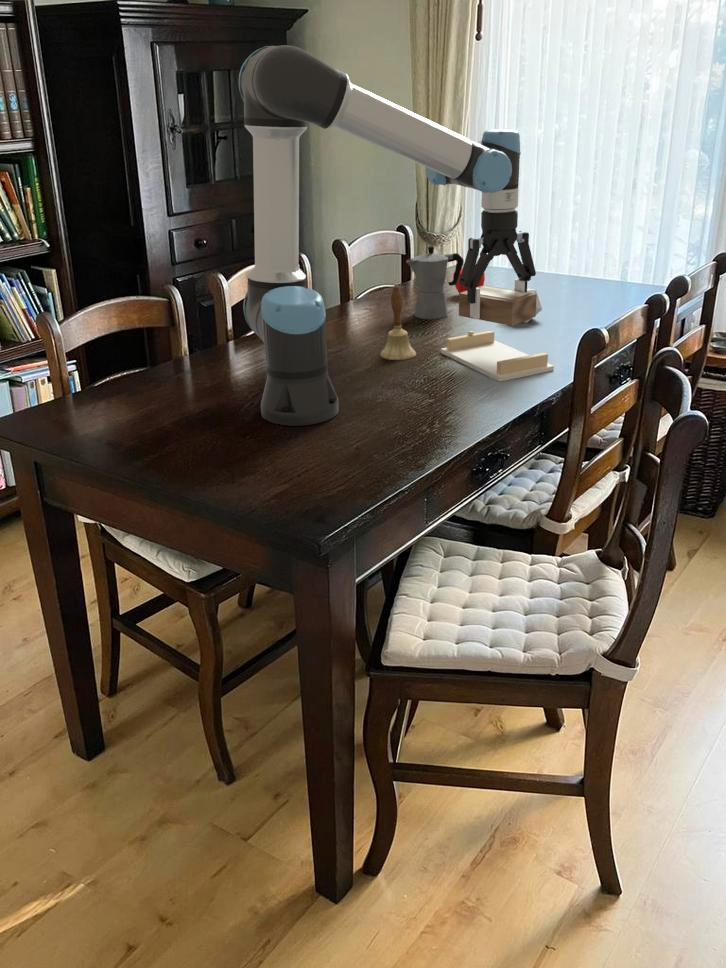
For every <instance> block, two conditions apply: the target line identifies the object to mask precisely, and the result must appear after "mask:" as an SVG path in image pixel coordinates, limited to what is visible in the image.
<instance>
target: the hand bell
mask: <svg viewBox="0 0 726 968" xmlns="http://www.w3.org/2000/svg"><path fill="white" fill-rule="evenodd" d="M390 304H391V309H392V312H393V329H392V330H390V331H388V334H387V340H386V341H387V342H386V344H385V347H384V349H383V350H381V351H380V354H379V355H380V357H381V358H382V359H385V360H391V361H405V360H410V359H413V358H415V357H416V356H417V351H415V350H414V348H413V347H412V346H411V343H410V340H409V334H408V331H406V330H405V329H403V328H402V317H401V312H402V310H403V296H402V292H401V289H400V286H399V285H393V288H392V292H391V296H390Z"/></svg>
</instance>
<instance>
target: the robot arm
mask: <svg viewBox="0 0 726 968" xmlns="http://www.w3.org/2000/svg"><path fill="white" fill-rule="evenodd" d="M238 88H239V89H238V90H239V94H240V97H241V99H242V102H243V117H244V118H243V119H244V120H243V121H244V123H243V125H244V128H246V130H247V131H248V132H249V133H250V134H251V136H252V153H253V155H252V157H253V158H252V159H253V163H252V164H253V165H252V166H253V168H252V169H253V214H254V215H253V216H254V217H253V221H254V223H253V224H254V226H253V227H254V229H253V230H254V267H253V268H252V269H251V270H249V272H248V273H247V274H246V275H247V284H246V285H247V292H246V293H245V295H244V299H243V305H242V306H243V314H244V318H245V321H246V323H247V325H248V326H249V329H250V330H251V331H252V332H253V333H255V334H256V335H257V336H258V338H259V339H260V340H261V342H263V343H264V350H265V351H264V352H265V365H266V376H267V377H266V381H265V385H264V390H263V394H262V397H261V401H260V414H261V417H262V418H263V420H265V419H266V420H267V421H266V420H265V421H266V422H268V421H269V423H271V422H272V423H271V424H274V423H275V425H278V424H280V426H286V425H287V427H289V426H290V427H298V426H299V427H300V426H309V425H310V426H311V425H316V424H320V423H324V422H326V421H327V422H328V421H329V420H331V419H333V418H334V417H336V416H337V415H338V413H339V410H340V409H339V407H340V405H339V397H338V395H337V393H336V390H335V387H334V385H333V382H332V381H331V380H332V379H331V378H330V377H331V376H330V375H329V371H328V370H329V369H328V356H327V355H328V354H327V353H328V352H327V351H328V350H327V331H326V313H327V312H326V308H325V304H324V299H323V297H322V296H321V294H320V293H319V292H317V291H316V290H314V289H312V288H307V275H306V274H305V273H304V271H303V270H302V269H301V268H300V266H299V259H300V257H299V253H300V251H299V250H300V249H299V247H300V244H299V243H300V235H299V233H300V232H299V231H300V223H299V220H300V215H299V214H300V212H299V211H300V200H299V199H300V137H301V136H302V135H303V134H304V133H305V132H306V130H307V129H308V123H309V124H312V125H315V126H317V127H319V128H322V129H324V130H329V129H331V128H333V127H334V128H336V129H339V130H342V131H344V132H345V133H349V134H350V135H352V136H355V137H357V138H359V139H361V140H364V141H366V142H369V143H371V144H373V145H375V146H378V147H380V148H382V149H384V150H386V151H389V152H390V153H394V154H396V155H398V156H400V157H402V158H404V159H407V160H408V161H412V162H414V163H416V164H418V165H420V166H423V167H424V168H425V175H426V178H427V180H428V181H429V182H430V184H431V185H435V186H440V185H442V186H446V185H458V186H461V187H465V188H471V189H473V190H477V191H479V192H481V201H480V202H481V203H480V205H481V206H480V207H481V209H483V210H482V211H481V213H480V214H481V215H480V218H481V220H480V221H481V222H480V223H481V224H480V227H481V235H480V237H476V238H473V237H470V238H468V241H467V242H468V243H467V244H468V245H467V247H468V248H467V252H466V256H465V258H464V259H465V260H464V263H463V266H462V268H463V270H462V273H461V277H460V280H459V284H460V285H462V286H465V287H467V301H468V303H470V317H472V318H471V319H473V318H475V319H474V320H478V319H480V288H477V286H478V284H479V282H480V280H481V278H482V276H483V274H484V273H485V271H486V270H487V268H488V266H489V264H490V262H491V261H492V260H493V259H494V258H495V257H498V256H501V255H502V256H503V255H504V256H506V258H507V259H508V261H509V263H510V265H511V267H512V269H513V271H514V273H515V274H516V276H517V278H515V279H514V289H513V290H516V291H523V292H527V288H528V282H530V281H531V280H532V277H535V276H536V274H537V271H536V268H535V264H534V259H533V255H532V251H531V248H530V244H529V243H530V234H529V232H527V231H523V230H519V231H518V232H517V228H518V217H519V216H518V215H519V212H518V210H517V208H518V207H519V185H520V182H519V181H520V180H519V178H520V162H521V161H520V159H521V158H520V157H521V141H520V140H521V139H520V133H519V131H517V130H516V129H510V128H509V129H508V128H506V129H505V128H499V129H487V130H484V131H483V133H482V137H481V141H477V142H476V141H474V140H471V139H469V138H468V137H465V136H463V135H461V134H459V133H457V132H455V131H452V130H450V129H448V128H447V127H444V126H442V125H440V124H438V123H436V122H434V121H432V120H430V119H428V118H426V117H423V116H421V115H419V114H417V113H414V112H413V111H410V110H408V109H406V108H405V107H402V106H400V105H398V104H395V103H394V102H391V101H389V100H387V99H385V98H383V97H381V96H379V95H376V94H374V93H373V92H371V91H369V90H366V89H364V88H363V87H360V86H358V85H355V84H353V83H352V82H351V80H350V77H349V75H348V74H347V73H346V72H343V71H341V70H339V69H337V68H335V67H333V66H332V65H330V64H328V63H326V62H325V61H323V60H322V59H319V58H318V57H316V56H315V55H313V54H311V53H310V52H308V51H306V50H304V49H302V48H300V47H297V46H294V45H287V44H284V45H282V44H281V45H269V46H268V45H265V46H263V47H260V48H258V49H256V50H255V51H253V52H252V53H251V54H249V56H248V57H247V58H246V59H245V61H244V62H243V64H242V66H241V67H240V71H239V75H238ZM516 242H517V247H518V251H519V254H520V256H519V255H518V251H517V249H516V247H515V246H514V244H515V243H516ZM480 249H481V251H480Z"/></svg>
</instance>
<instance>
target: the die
mask: <svg viewBox="0 0 726 968" xmlns="http://www.w3.org/2000/svg"><path fill="white" fill-rule="evenodd" d="M527 292H529V293H535V294H537V298H536V316H537V315H538V314H539V313H540V312H542V310H543V307H542V304H541V301H540V299H539V295H538V292H537V290H536V289H534V288H528V287H527ZM532 319H533V318H531V319H528V320H526V321H523V322H522V323H524V324H527V323H529V322H530V321H531V320H532Z"/></svg>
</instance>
